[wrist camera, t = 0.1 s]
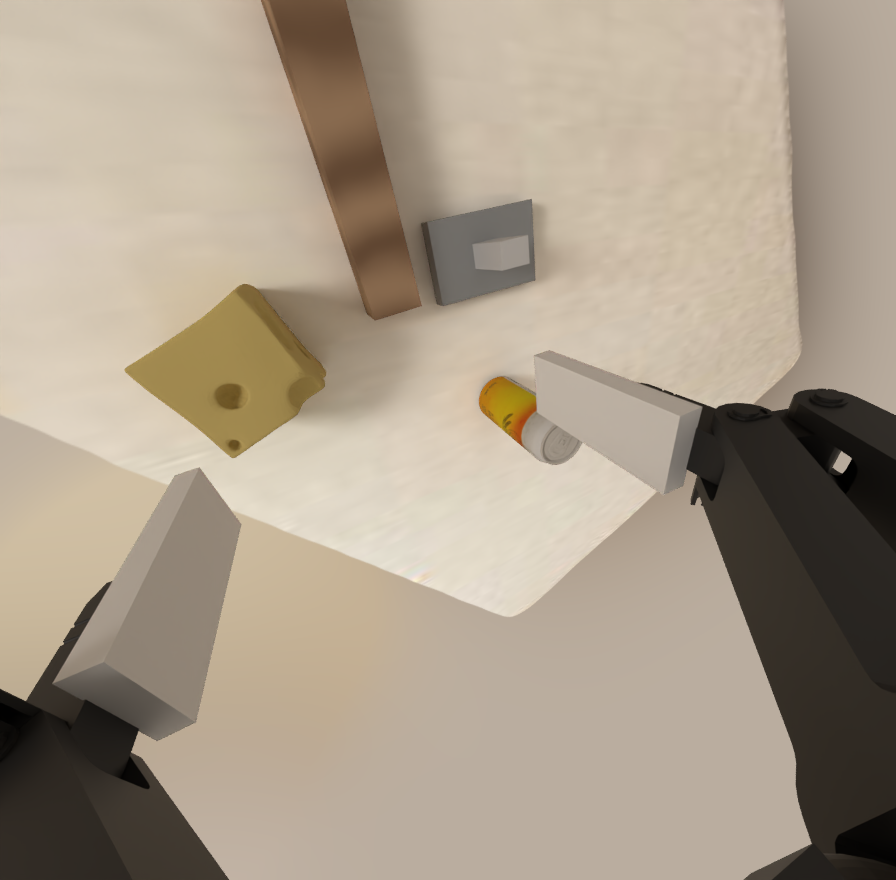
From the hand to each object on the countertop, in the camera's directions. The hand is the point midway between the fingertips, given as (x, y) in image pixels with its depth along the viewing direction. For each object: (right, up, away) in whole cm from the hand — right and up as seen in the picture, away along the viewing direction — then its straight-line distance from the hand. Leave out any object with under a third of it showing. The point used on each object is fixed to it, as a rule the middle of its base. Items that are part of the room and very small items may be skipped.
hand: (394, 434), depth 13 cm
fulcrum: (+6, +21, +25) cm, 33 cm away
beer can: (+9, +6, +35) cm, 36 cm away
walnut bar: (-7, +25, +18) cm, 31 cm away
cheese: (-19, +9, +22) cm, 30 cm away
